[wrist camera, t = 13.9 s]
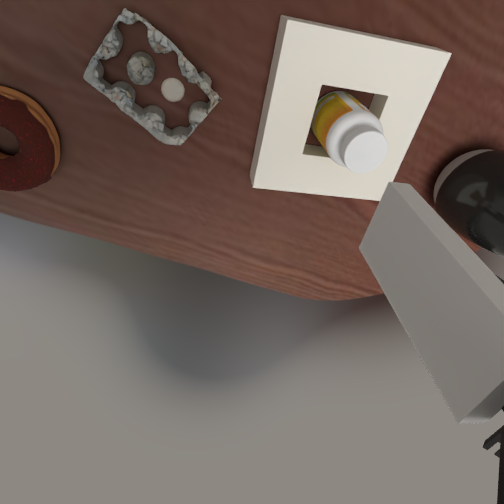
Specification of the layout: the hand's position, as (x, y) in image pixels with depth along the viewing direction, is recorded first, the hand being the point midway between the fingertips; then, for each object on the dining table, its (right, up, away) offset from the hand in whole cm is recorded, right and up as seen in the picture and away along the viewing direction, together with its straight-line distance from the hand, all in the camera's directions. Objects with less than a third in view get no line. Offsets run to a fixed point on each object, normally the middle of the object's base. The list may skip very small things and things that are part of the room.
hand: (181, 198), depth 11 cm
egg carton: (-7, +15, +24) cm, 30 cm away
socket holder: (+11, +13, +28) cm, 33 cm away
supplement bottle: (+11, +13, +29) cm, 33 cm away
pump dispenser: (+29, +8, +36) cm, 46 cm away
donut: (-22, +10, +26) cm, 36 cm away
